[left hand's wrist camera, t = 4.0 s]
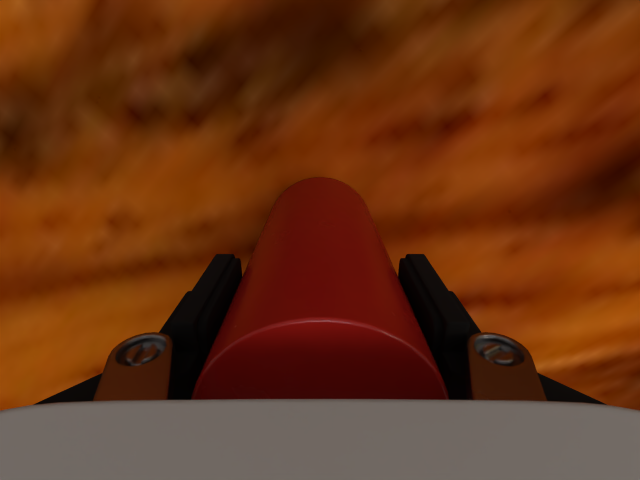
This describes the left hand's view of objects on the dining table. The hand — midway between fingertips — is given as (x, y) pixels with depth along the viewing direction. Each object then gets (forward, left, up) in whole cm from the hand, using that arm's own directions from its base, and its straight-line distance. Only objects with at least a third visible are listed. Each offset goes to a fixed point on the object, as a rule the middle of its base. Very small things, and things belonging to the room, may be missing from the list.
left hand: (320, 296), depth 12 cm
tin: (0, 0, -7) cm, 7 cm away
